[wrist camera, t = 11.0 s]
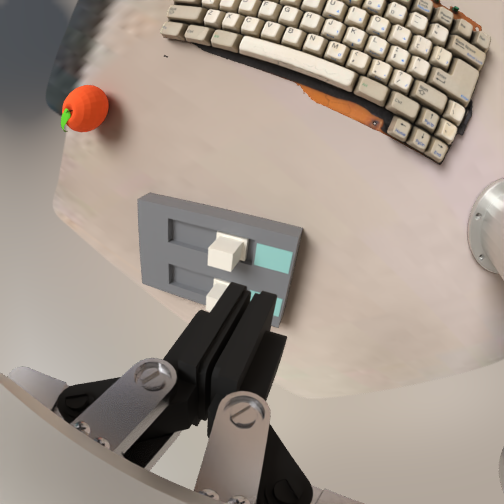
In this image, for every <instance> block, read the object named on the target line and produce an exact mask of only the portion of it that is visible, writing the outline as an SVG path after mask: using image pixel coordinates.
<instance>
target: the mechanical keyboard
mask: <svg viewBox="0 0 504 504" xmlns="http://www.w3.org/2000/svg"><path fill="white" fill-rule="evenodd" d="M173 1H174V5H171V6H170V7H169V9H168V11H167V15H166V16H167V17H168V19H169V20H168V21H167V22H165V23H164V25H163V26H162V29H161V32H160V33H161V34H162V35H163V37H164V38H171V39H177V40H182V41H187V42H190V43H193V44H195V45H197V46H198V48H201V49H202V50H203V51H207V52H209V53H212V54H215V55H217V56H220V57H223V58H226V59H230V60H232V61H234V62H238V63H242V64H245V65H247V66H250V67H253V68H256V69H259V70H262V71H265V72H268V73H271V74H274V75H276V76H279V77H281V78H284V79H287V80H290V81H293V82H295V83H297V85H298V86H299V85H300V86H301V88H302V89H303V91H304V92H306V93H307V94H308V96H309V97H311V99H312V100H314V101H315V102H316V103H319V104H322V105H323V106H326V107H328V108H330V109H332V110H334V111H337V112H339V113H341V114H343V115H345V116H348V117H350V118H352V119H354V120H356V121H358V122H360V123H362V124H364V125H366V126H368V127H370V128H372V129H375V130H377V131H380V132H382V133H383V134H385V135H387V136H389V137H391V138H393V139H395V140H397V141H398V142H400V143H402V144H404V145H406V146H408V147H409V148H411V149H413V150H415V151H416V152H418V153H420V154H422V155H424V156H425V157H427V158H429V159H431V160H433V161H434V162H436V163H438V164H439V165H441V164H442V162H443V160H444V158H445V155H446V154H447V152H448V150H449V148H450V146H451V143H453V140H454V138H455V136H456V135H457V134H460V135H463V133H464V131H465V128H466V125H467V123H468V121H469V119H470V118H471V116H472V100H471V97H472V95H473V92H474V90H475V87H476V84H477V81H478V77H479V74H480V70H481V68H482V66H483V64H484V61H485V58H486V52H487V51H488V49H489V46H490V42H491V37H489V36H488V35H486V34H485V33H484V32H482V29H481V28H482V27H481V26H480V25H478V24H477V23H476V22H474V21H472V20H471V19H470V18H468V17H466V16H465V15H464V14H463V13H461V12H459V11H458V10H459V8H458V7H456V6H455V7H451V6H450V9H448V8H446V7H445V6H443V5H441V4H440V0H173ZM476 27H478V28H479V31H476V29H475V28H476ZM164 57H168V56H165V55H164ZM255 58H256V59H255ZM304 94H305V93H304ZM374 122H375V123H376V124H375V125H374V124H373V123H374Z"/></svg>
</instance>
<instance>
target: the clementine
mask: <svg viewBox="0 0 504 504" xmlns="http://www.w3.org/2000/svg"><path fill="white" fill-rule="evenodd" d="M108 108H109V104H108V99H107V96H106V95H105V93H104V92H103V91H102V90H101V89H100V88H98V87H96V86H92V85H84V86H81V87H78V88H76V89H75V90H73V91H72V92H71V93H70V94H69V95H68V97H67V98H66V99H65V102H64V104H63V111H62V112H63V115H62V118H61V127H62V129H63V130H64V126H65V124H67V125H68V126H69V127H70V128H71V129H72V130H74V131H77V132H88V131H91V130H93V129H95V128H97V127H98V126H99V125H100V124H101V123H102V122H103V121H104V119H105V117H106V115H107V113H108ZM64 131H65V130H64ZM65 132H68V131H65Z"/></svg>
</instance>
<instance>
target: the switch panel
mask: <svg viewBox="0 0 504 504" xmlns="http://www.w3.org/2000/svg"><path fill="white" fill-rule="evenodd" d="M138 227H139V246H140V260H141V273H142V283H143V284H146V285H148V286H151V287H154V288H157V289H159V290H162V291H165V292H168V293H171V294H174V295H177V296H179V297H182V298H185V299H188V300H191V301H194V302H197V303H200V304H203V305H206V296H207V294H208V293H209V292H210V290H211V289H212V288H213V283H214V278H218V279H221V280H224V281H228V282H235V283H238V284H242V285H245V286H247V290H248V291H251V299H252V297H253V296H254V294H255V293H258V294H260V293H261V291H266V292H269V293H273V294H276V295H277V300H276V305H275V310H274V314H273V319H272V323H271V326H274V327H279V325H280V322H281V319H282V317H283V314H284V309H285V305H286V301H287V297H288V293H289V288H290V284H291V280H292V275H293V271H294V267H295V262H296V258H297V253H298V249H299V244H300V239H301V235H302V230H303V228H301V227H297V226H293V225H289V224H285V223H281V222H277V221H273V220H269V219H264V218H260V217H256V216H252V215H248V214H243V213H239V212H235V211H231V210H226V209H222V208H218V207H213V206H209V205H204V204H200V203H195V202H191V201H186V200H182V199H177V198H172V197H168V196H163V195H158V194H154V193H148V194H146V195H145V196H143V197H141V198H139V199H138ZM217 231H221V232H225V233H229V234H233V235H237V236H241V237H244V238H248V239H249V244H248V251H247V258H246V260H245V261H242V260H239V262H238V263H237V264H236V266H235V267H234V269H233V270H232V271H231V272H229V271H226V270H222V269H219V268H215V267H212V266H208V265H207V264H208V248H209V247H210V245H211V244H212V243H213V242H214V241H215V240H216V235H217ZM251 299H250V301H251Z"/></svg>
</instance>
